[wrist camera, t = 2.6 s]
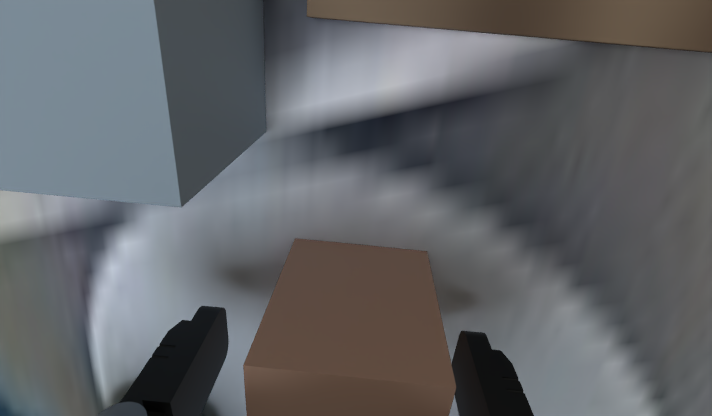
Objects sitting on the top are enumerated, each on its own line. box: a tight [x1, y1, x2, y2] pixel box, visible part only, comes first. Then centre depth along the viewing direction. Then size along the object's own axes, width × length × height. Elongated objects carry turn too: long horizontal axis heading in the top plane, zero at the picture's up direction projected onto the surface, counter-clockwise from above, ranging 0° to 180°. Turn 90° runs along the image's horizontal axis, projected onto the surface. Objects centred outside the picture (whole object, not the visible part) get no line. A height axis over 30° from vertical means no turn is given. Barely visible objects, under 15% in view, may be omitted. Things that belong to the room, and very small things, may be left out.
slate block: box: [0, 0, 266, 207], centre depth 9 cm, size 5×5×6 cm
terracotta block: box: [243, 238, 456, 416], centre depth 13 cm, size 5×5×6 cm
